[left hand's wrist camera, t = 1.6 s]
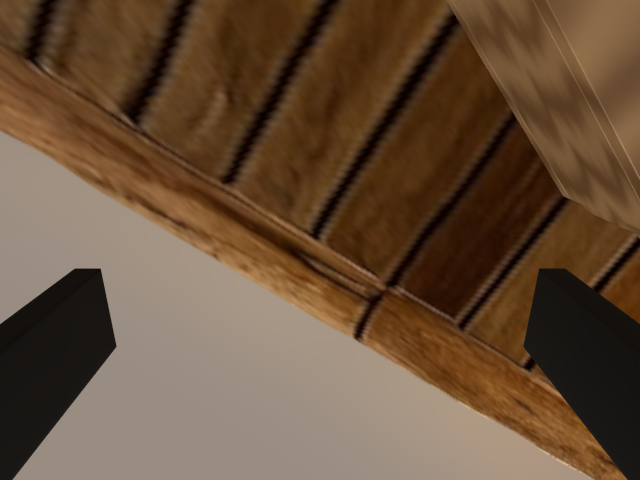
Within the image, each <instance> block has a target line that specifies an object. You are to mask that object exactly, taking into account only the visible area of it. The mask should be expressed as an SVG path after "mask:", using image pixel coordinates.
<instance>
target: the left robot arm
mask: <svg viewBox="0 0 640 480" xmlns="http://www.w3.org/2000/svg"><path fill="white" fill-rule="evenodd" d="M115 348H116V342H115V337H114V332H113V327H112V322H111V317H110V313H109V307H108V303H107V298H106V293H105V288H104V283H103V278H102V273H101V269H74V270H72V271H71V272H70V273H69V274H67V275H66V276H64V277H63V278H62V279H60V280H59V281H58V282H56V283H55V284H54V285H52V286H51V287H50V288H48V289H47V290H46V291H44V292H43V293H42V294H40V295H39V296H37V297H36V298H35V299H33V300H32V301H31V302H30V303H28V304H27V305H25V306H24V307H23V308H21V309H20V310H19V311H17V312H16V313H15V314H13V315H12V316H11V317H9V318H8V319H7V320H5V321H4V322H3V323H1V324H0V480H13V478H14V477H15V476H16V474H17V473H18V472H19V471H20V469H21V468H22V467H23V466H24V464H25V463H26V462H27V460H28V459H29V458H30V457H31V455H32V454H33V453H34V452H35V450H36V449H37V448H38V446H39V445H40V444H41V443H42V441H43V440H44V439H45V437H46V436H47V435H48V434H49V432H50V431H51V430H52V428H53V427H54V426H55V425H56V423H57V422H58V421H59V420H60V418H61V417H62V416H63V414H64V413H65V412H66V411H67V409H68V408H69V407H70V405H71V404H72V403H73V402H74V400H75V399H76V398H77V397H78V395H79V394H80V393H81V391H82V390H83V389H84V388H85V386H86V385H87V384H88V382H89V381H90V380H91V379H92V377H93V376H94V375H95V374H96V372H97V371H98V370H99V368H100V367H101V366H102V365H103V363H104V362H105V361H106V359H107V358H108V357H109V356H110V354H111V353H112V352H113V350H114V349H115ZM524 348H525V349H526V350H527V352H528V353H529V354H530V356H531V357H532V358H533V359H534V361H535V362H536V363H537V365H538V366H539V367H540V368H541V370H542V371H543V372H544V374H545V375H546V376H547V377H548V379H549V380H550V381H551V382H552V384H553V385H554V386H555V388H556V389H557V390H558V391H559V393H560V394H561V395H562V397H563V398H564V399H565V400H566V402H567V403H568V404H569V405H570V407H571V408H572V409H573V411H574V412H575V413H576V414H577V416H578V417H579V418H580V420H581V421H582V422H583V423H584V425H585V426H586V427H587V428H588V430H589V431H590V432H591V434H592V435H593V436H594V437H595V439H596V440H597V441H598V443H599V444H600V445H601V446H602V448H603V449H604V450H605V452H606V453H607V454H608V455H609V457H610V458H611V459H612V460H613V462H614V463H615V464H616V466H617V467H618V468H619V469H620V471H621V472H622V473H623V475H624V476H625V477H626V478H627V480H640V324H639V323H637V322H636V321H635V320H633V319H632V318H631V317H629V316H628V315H627V314H625V313H624V312H623V311H621V310H620V309H619V308H617V307H616V306H615V305H613V304H612V303H611V302H609V301H608V300H607V299H605V298H604V297H603V296H601V295H600V294H598V293H597V292H596V291H594V290H593V289H592V288H590V287H589V286H588V285H586V284H585V283H584V282H582V281H581V280H580V279H578V278H577V277H576V276H574V275H573V274H572V273H570V272H569V271H568V270H566V269H539V273H538V278H537V283H536V288H535V293H534V298H533V303H532V307H531V312H530V317H529V322H528V327H527V332H526V337H525V342H524Z"/></svg>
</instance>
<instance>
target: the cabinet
mask: <svg viewBox="0 0 640 480" xmlns="http://www.w3.org/2000/svg"><path fill="white" fill-rule="evenodd" d="M447 2H448V4H449V5H450V7H451V9H452V11H453V12H454V14H455V16H456V17H457V19H458V21H459V22H460V24H461V26H462V27H463V29H464V31H465V32H466V34H467V36H468V37H469V39H470V41H471V42H472V44H473V46H474V47H475V49H476V51H477V52H478V54H479V56H480V57H481V59H482V61H483V62H484V64H485V66H486V68H487V69H488V71H489V73H490V74H491V76H492V78H493V79H494V81H495V83H496V84H497V86H498V88H499V89H500V91H501V93H502V94H503V96H504V98H505V99H506V101H507V103H508V104H509V106H510V108H511V109H512V111H513V113H514V114H515V116H516V118H517V119H518V121H519V123H520V125H521V126H522V128H523V130H524V131H525V133H526V135H527V136H528V138H529V140H530V141H531V143H532V145H533V146H534V148H535V150H536V151H537V153H538V155H539V156H540V158H541V160H542V161H543V163H544V165H545V166H546V168H547V170H548V171H549V173H550V175H551V176H552V178H553V180H554V182H555V183H556V185H557V187H558V188H559V190H560V192H561V193H562V195H563V196H564V197H567V198H569V199H571V200H574V201H576V202H578V203H581V204H583V205H585V206H587V207H590V208H592V209H594V210H597V211H599V212H601V213H604V214H606V215H608V216H611V217H613V218H615V219H617V220H620V221H622V222H624V223H627V224H629V225H631V226H634V227H636V228H638V229H640V0H447Z"/></svg>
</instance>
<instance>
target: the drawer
mask: <svg viewBox="0 0 640 480" xmlns="http://www.w3.org/2000/svg"><path fill="white" fill-rule="evenodd" d="M582 205H583V204H582ZM583 206H584V208H585V210H586V211H587V212H589V213H591V214H594V215H596V216H598V217H600V218H602V219H605V220H607V221H609V222H611V223H614V224H616V225H618V226H620V227H622V228H625V229H627V230H629V231H631V232H633V233H636V234H638V236H639V238H640V229H638V228H636V227H634V226H631V225H629V224H627V223H624V222H622V221H620V220H617V219H615V218H613V217H611V216H608V215H606V214H604V213H601V212H599V211H597V210H594V209H592V208H590V207H587V206H585V205H583Z"/></svg>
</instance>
